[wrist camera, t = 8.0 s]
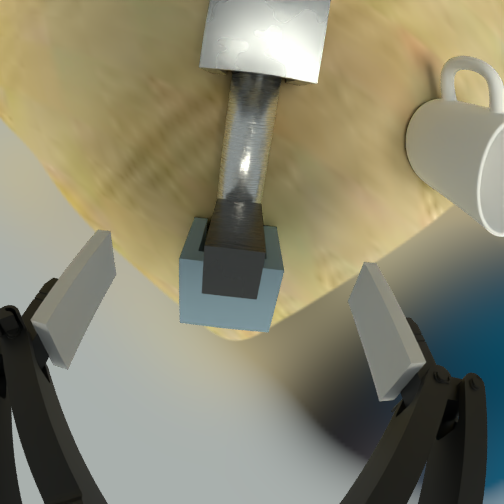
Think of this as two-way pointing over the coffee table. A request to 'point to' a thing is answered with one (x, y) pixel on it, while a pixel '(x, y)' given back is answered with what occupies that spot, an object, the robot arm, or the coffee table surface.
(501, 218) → the cup
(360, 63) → the coffee table surface
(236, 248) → the grey piece
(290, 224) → the coffee table surface
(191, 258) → the socket
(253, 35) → the grey metal block
